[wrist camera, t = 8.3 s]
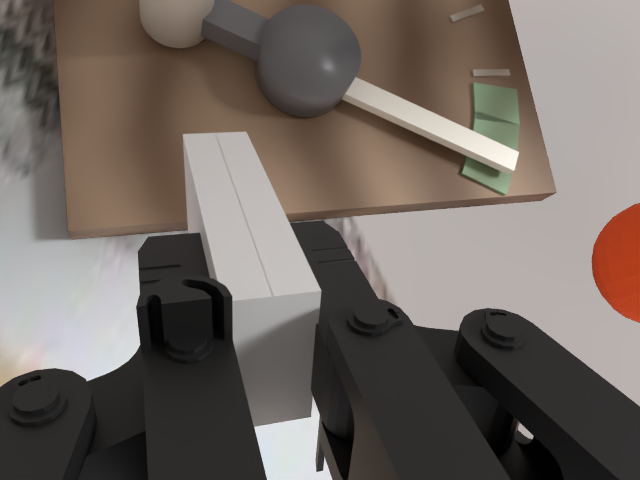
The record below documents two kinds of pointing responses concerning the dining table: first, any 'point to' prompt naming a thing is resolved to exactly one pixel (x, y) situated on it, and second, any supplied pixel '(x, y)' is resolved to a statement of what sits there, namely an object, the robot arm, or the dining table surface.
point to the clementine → (620, 262)
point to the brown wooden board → (288, 130)
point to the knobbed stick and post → (308, 66)
